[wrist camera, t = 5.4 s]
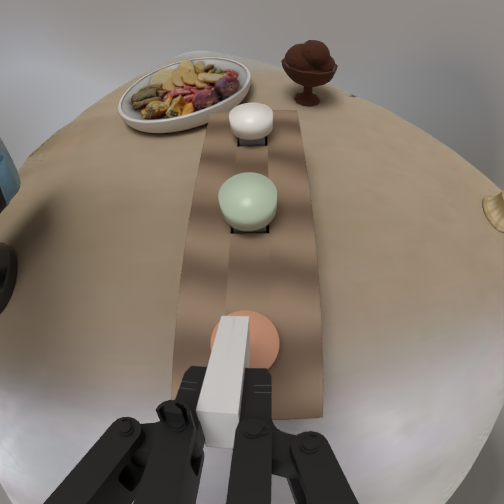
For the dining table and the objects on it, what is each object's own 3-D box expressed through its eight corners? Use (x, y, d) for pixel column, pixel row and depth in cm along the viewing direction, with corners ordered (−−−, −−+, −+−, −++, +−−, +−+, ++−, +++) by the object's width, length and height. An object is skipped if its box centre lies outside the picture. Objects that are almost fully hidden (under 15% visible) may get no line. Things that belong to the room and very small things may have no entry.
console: (305, 405, 27) (322, 417, 18) (199, 403, 27) (170, 412, 18) (293, 159, 43) (296, 110, 34) (220, 161, 43) (210, 113, 35)
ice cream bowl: (335, 95, 52) (343, 38, 39) (325, 118, 48) (334, 52, 34) (291, 84, 54) (292, 28, 41) (274, 106, 50) (274, 42, 37)
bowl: (102, 131, 52) (89, 106, 45) (177, 69, 64) (171, 47, 57) (203, 154, 45) (194, 119, 38) (273, 80, 56) (272, 53, 49)
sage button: (276, 251, 27) (278, 218, 22) (225, 252, 27) (215, 218, 22) (275, 209, 29) (276, 171, 24) (229, 210, 30) (220, 173, 24)
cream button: (273, 163, 32) (273, 125, 27) (232, 164, 33) (227, 127, 27) (272, 138, 35) (272, 102, 29) (235, 139, 35) (230, 103, 30)
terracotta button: (276, 377, 23) (279, 377, 18) (222, 376, 23) (209, 375, 18) (276, 325, 25) (279, 310, 20) (224, 325, 26) (212, 309, 20)
